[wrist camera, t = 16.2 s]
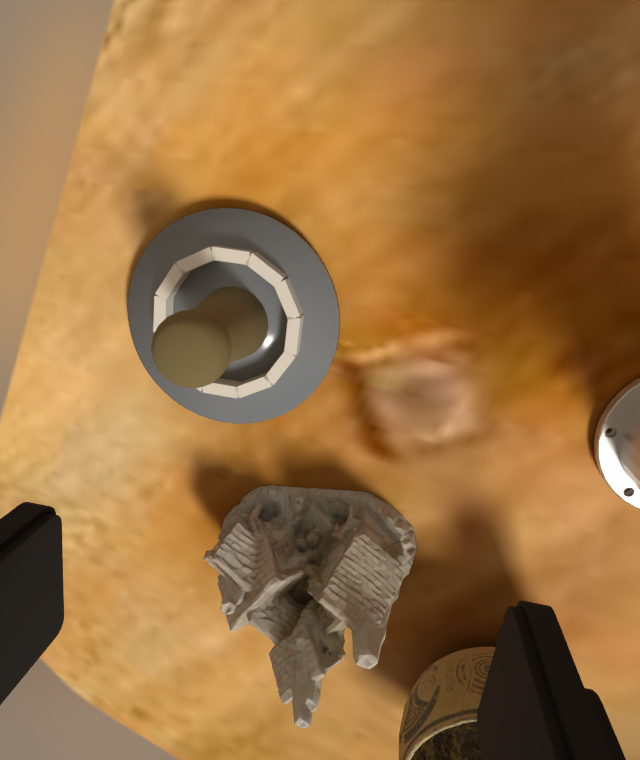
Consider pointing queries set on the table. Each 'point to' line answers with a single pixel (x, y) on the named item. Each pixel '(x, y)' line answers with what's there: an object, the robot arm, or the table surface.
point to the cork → (209, 337)
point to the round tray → (256, 275)
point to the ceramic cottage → (312, 579)
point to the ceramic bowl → (446, 708)
